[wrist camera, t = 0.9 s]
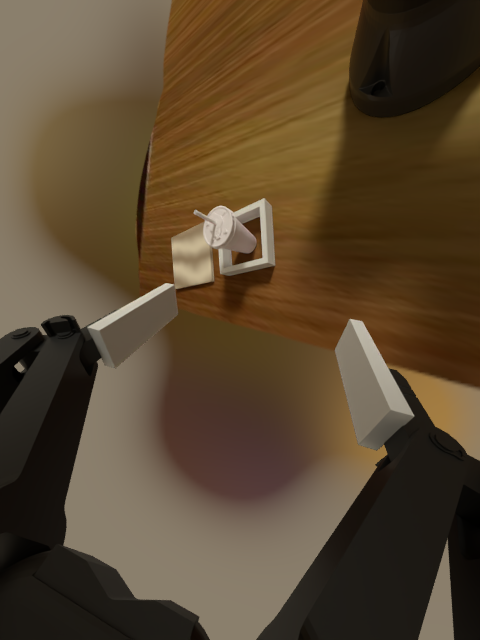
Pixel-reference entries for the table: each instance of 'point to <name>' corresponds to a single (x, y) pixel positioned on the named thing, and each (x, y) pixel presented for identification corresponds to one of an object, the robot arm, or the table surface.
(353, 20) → the table surface
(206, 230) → the smoothie
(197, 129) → the table surface
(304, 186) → the table surface
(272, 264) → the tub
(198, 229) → the board
